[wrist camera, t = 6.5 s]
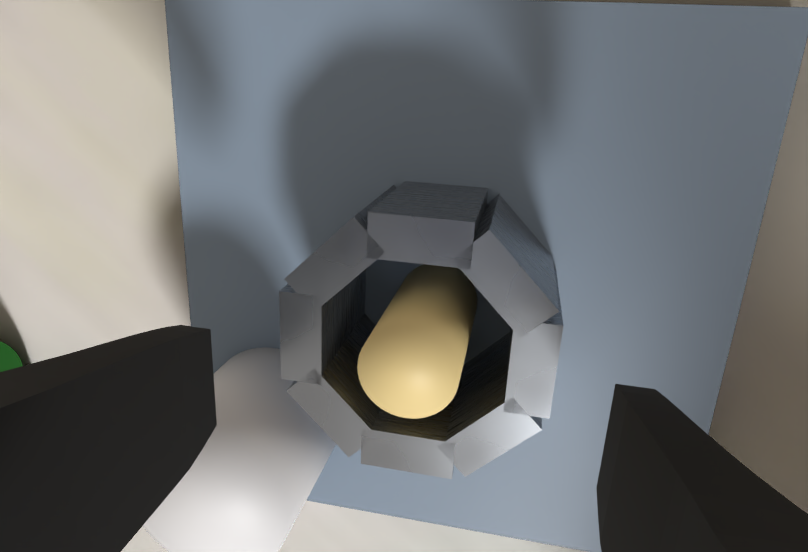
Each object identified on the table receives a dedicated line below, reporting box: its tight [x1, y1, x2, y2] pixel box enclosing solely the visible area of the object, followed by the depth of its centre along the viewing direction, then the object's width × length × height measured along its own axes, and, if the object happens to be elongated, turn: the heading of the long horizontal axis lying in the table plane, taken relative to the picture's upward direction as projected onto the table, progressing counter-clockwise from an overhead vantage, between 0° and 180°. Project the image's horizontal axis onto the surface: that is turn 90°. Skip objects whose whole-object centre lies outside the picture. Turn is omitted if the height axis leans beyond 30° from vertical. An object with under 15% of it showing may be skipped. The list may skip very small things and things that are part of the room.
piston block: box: [143, 0, 808, 552], centre depth 14 cm, size 14×14×5 cm
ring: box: [279, 181, 563, 479], centre depth 13 cm, size 6×6×4 cm
